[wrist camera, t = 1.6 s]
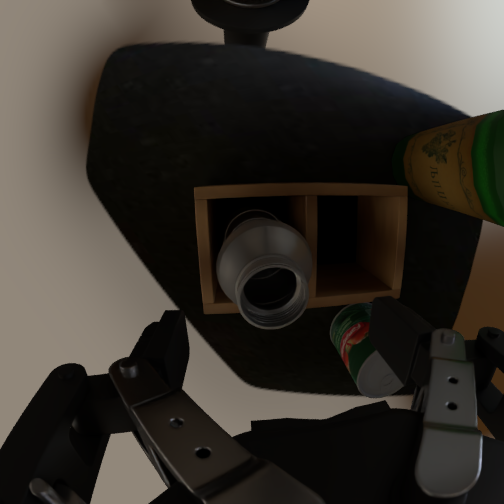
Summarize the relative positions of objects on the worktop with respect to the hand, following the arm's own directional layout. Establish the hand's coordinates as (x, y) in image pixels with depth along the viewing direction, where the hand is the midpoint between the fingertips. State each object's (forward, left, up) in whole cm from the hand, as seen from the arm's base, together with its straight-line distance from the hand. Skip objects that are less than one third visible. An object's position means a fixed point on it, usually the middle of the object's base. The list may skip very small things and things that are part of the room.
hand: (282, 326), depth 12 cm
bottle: (-8, +22, -23) cm, 33 cm away
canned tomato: (+14, +14, -23) cm, 30 cm away
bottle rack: (0, +5, -23) cm, 23 cm away
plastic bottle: (0, 0, -23) cm, 23 cm away
